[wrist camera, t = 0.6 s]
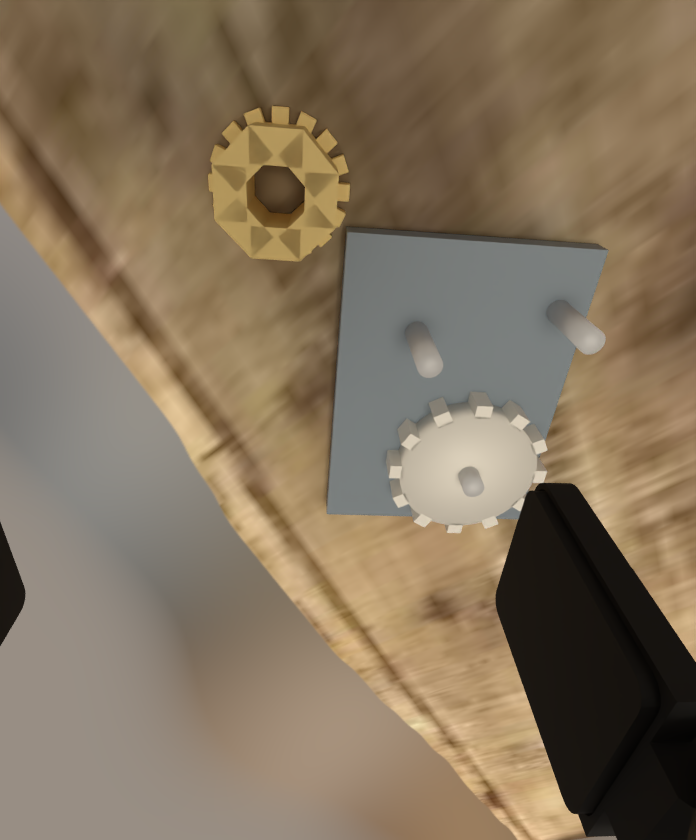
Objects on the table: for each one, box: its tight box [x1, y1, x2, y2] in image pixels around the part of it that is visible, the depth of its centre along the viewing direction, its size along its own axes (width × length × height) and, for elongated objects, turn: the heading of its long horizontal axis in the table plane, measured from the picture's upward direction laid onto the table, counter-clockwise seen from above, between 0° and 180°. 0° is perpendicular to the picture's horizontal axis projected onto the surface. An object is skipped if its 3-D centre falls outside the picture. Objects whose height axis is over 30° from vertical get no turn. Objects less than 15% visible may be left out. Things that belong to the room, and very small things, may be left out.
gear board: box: [327, 227, 608, 533], centre depth 36 cm, size 22×16×6 cm
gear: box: [208, 106, 350, 261], centre depth 29 cm, size 8×8×4 cm
